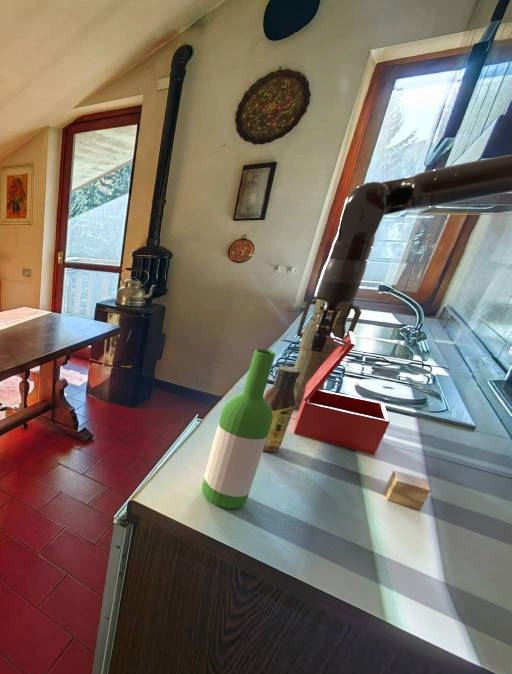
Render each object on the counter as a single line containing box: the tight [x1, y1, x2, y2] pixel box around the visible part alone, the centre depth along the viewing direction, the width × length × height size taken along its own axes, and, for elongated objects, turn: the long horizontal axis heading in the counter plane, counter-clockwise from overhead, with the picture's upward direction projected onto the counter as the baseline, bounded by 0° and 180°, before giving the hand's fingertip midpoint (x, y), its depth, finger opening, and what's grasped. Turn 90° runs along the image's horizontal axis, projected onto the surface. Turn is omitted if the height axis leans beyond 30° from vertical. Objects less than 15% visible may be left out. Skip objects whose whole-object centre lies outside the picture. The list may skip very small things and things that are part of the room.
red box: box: [293, 390, 391, 456], centre depth 98 cm, size 16×13×9 cm
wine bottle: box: [201, 348, 276, 510], centre depth 70 cm, size 8×8×30 cm
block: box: [384, 469, 431, 511], centre depth 75 cm, size 5×5×5 cm
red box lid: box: [304, 332, 356, 401], centre depth 97 cm, size 16×13×5 cm
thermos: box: [293, 299, 362, 411], centre depth 108 cm, size 9×12×35 cm
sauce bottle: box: [263, 365, 300, 453], centre depth 90 cm, size 7×6×20 cm
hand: (316, 347), depth 96 cm, fingers open, 7 cm apart
